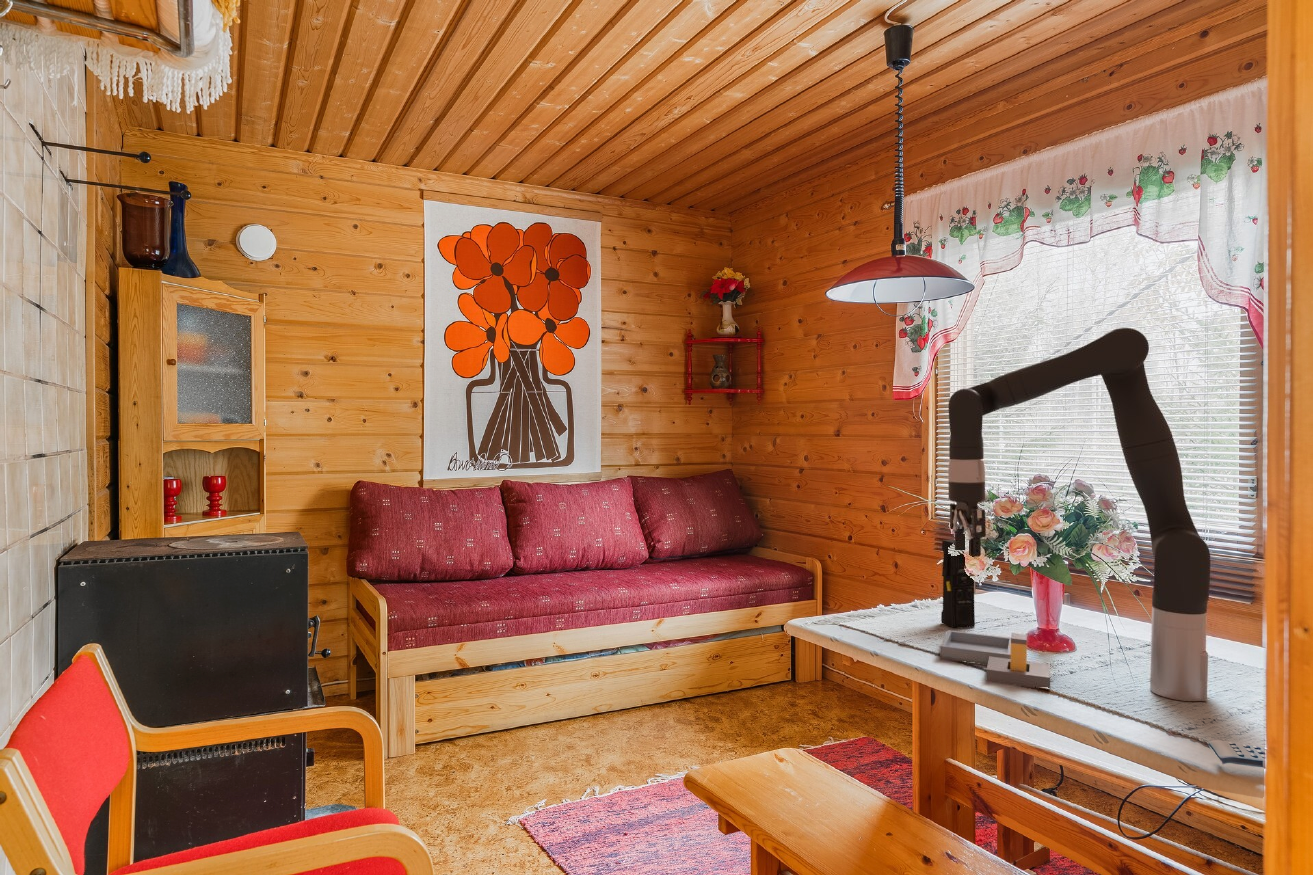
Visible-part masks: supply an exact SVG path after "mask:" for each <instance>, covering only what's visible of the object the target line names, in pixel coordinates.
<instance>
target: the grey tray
mask: <svg viewBox="0 0 1313 875" xmlns="http://www.w3.org/2000/svg"><path fill="white" fill-rule="evenodd" d="M939 649H940V650H939V651H940V652H939V656H940V657H939V659H940V660H943V661H944V660H945V661H953V662H959V661H966V662H975V663H980V664H979V665H981V664H984V666H987V665H988V661H989V656H991V657H998V658H1006V659H1011V636H1010V637H1008V636H1003V635H1002V636H1001V635H992V634H984V633H975V632H965V631H958V630H957V631H956V630H946V632H945V634H944V637H943V640H942V642H941V644H940V646H939ZM966 662H965V663H966Z"/></svg>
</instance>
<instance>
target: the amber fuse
mask: <svg viewBox="0 0 1313 875" xmlns="http://www.w3.org/2000/svg"><path fill="white" fill-rule="evenodd" d="M1010 638H1011V663H1010V669H1011V670H1018V671H1026V665H1027V657H1028V656H1027V655H1028V654H1027V653H1028V634H1024V633H1017V632H1016V633H1014V632H1011V636H1010Z"/></svg>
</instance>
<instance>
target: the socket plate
mask: <svg viewBox="0 0 1313 875" xmlns="http://www.w3.org/2000/svg"><path fill="white" fill-rule="evenodd" d="M1010 663H1011V659H1006V658H998V657H991V656H989V661H988V665H986V682H991V683H997V684H1005V685H1013V686H1020V687H1026V688H1032V689H1033V688H1034V689H1039V688H1038V687H1048V688H1050V689H1051V665H1050V664H1051V663H1045V662H1036V661H1029V660H1028V661H1027V665H1026V671H1018V670H1011V669H1010ZM1035 687H1036V688H1035Z"/></svg>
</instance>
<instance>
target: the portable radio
mask: <svg viewBox="0 0 1313 875" xmlns="http://www.w3.org/2000/svg"><path fill="white" fill-rule="evenodd" d="M953 543H954V539H945V540H944V539H943V540H942V542H941V550H942V552H943V555H942V556H943V558H942V571H941V576H942V578H943V579H942V610H941V613H940V615H941V617H940V618H941V620H940V621H941V623H942V624H943V625H945V626H946V627H950V628H951V629H961V628H962V629H963V628H973V627H976V626H975V625H976V620H975V619H976V618H975V579H974V580H973V579H972V578H970V576H968V575H967V574H966V572H965V570H964V566H965V557H964V555H963V554H960V555H957V556H951V554H948V547H950V545H952V544H953Z"/></svg>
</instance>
